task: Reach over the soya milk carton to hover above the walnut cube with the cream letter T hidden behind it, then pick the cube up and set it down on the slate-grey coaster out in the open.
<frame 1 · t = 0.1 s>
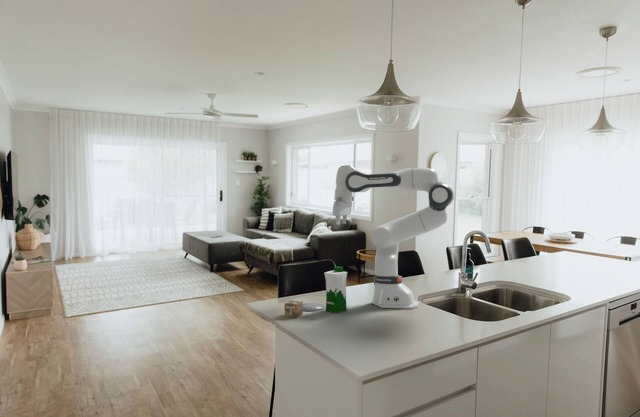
hand: (340, 224, 214), 39 cm above the worktop, tool pointing down, fingers open, 8 cm apart
soya milk: (336, 311, 193), on the worktop
letter cube: (293, 315, 186), on the worktop
coaster: (310, 307, 199), on the worktop
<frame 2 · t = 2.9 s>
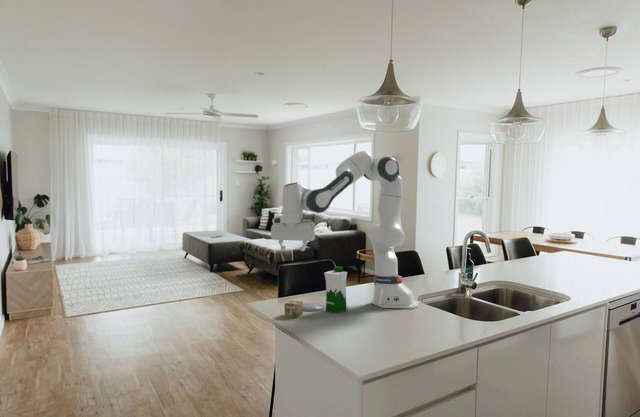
hand: (292, 250, 185), 29 cm above the worktop, tool pointing down, fingers open, 8 cm apart
nothing on the worktop moved.
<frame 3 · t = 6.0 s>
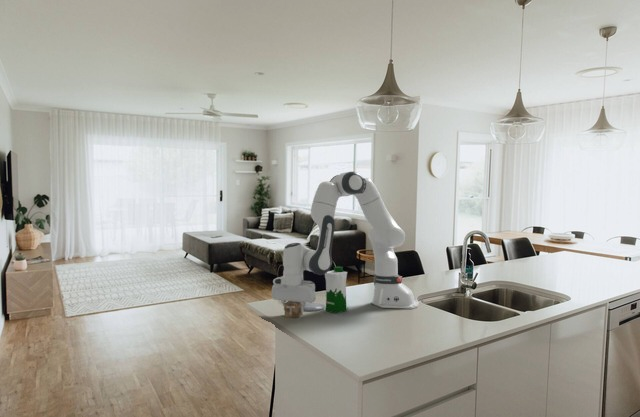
hand: (293, 310, 186), 2 cm above the worktop, tool pointing down, fingers closed on letter cube, 6 cm apart
letter cube: (293, 315, 186), on the worktop, touching gripper
everything else where it was.
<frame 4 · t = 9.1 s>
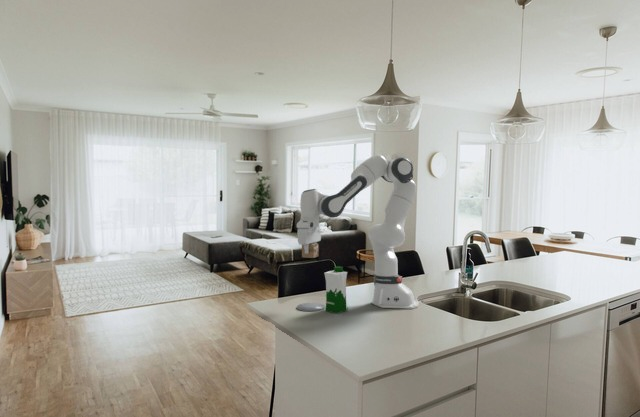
hand: (310, 252, 199), 26 cm above the worktop, tool pointing down, fingers closed on letter cube, 6 cm apart
letter cube: (310, 256, 199), point 24 cm above the worktop, touching gripper
everything else where it was.
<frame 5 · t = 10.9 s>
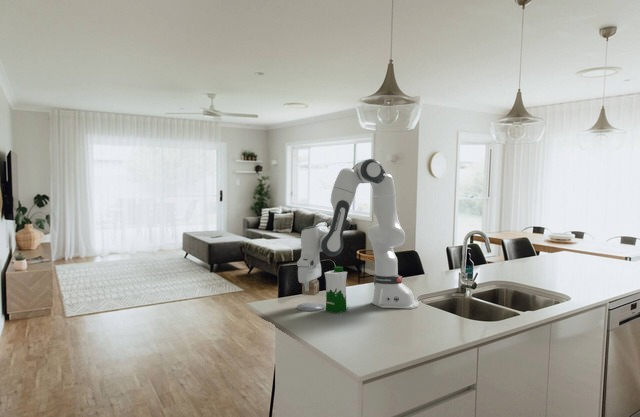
hand: (310, 289, 199), 9 cm above the worktop, tool pointing down, fingers closed on letter cube, 6 cm apart
letter cube: (310, 293, 199), point 7 cm above the worktop, touching gripper
everything else where it was.
when the fingers open (4 cm above the worktop, at t = 12.5 s): letter cube stays where it is, resting on coaster.
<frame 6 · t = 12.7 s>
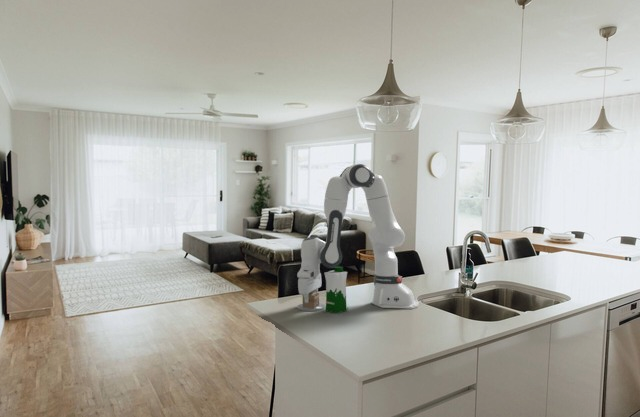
hand: (310, 300, 199), 4 cm above the worktop, tool pointing down, fingers open, 8 cm apart
letter cube: (310, 306, 199), point 1 cm above the worktop, touching coaster
everything else where it was.
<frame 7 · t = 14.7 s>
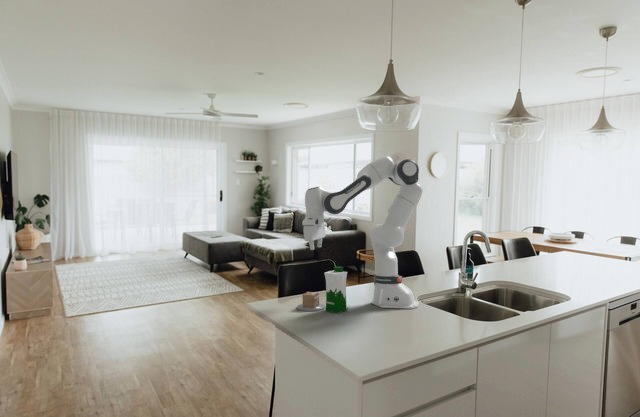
hand: (316, 248, 205), 28 cm above the worktop, tool pointing down, fingers open, 8 cm apart
nothing on the worktop moved.
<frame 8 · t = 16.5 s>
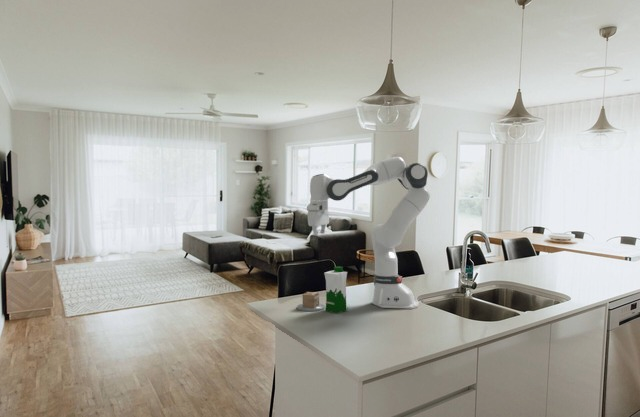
hand: (319, 234, 210), 34 cm above the worktop, tool pointing down, fingers open, 8 cm apart
nothing on the worktop moved.
at the end: letter cube 0.0 cm from the coaster (horizontally); letter cube point 0.8 cm above the worktop; the gripper is holding nothing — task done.
